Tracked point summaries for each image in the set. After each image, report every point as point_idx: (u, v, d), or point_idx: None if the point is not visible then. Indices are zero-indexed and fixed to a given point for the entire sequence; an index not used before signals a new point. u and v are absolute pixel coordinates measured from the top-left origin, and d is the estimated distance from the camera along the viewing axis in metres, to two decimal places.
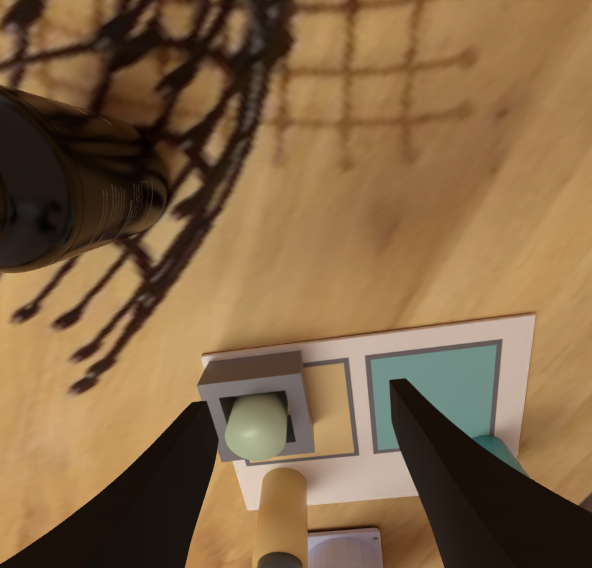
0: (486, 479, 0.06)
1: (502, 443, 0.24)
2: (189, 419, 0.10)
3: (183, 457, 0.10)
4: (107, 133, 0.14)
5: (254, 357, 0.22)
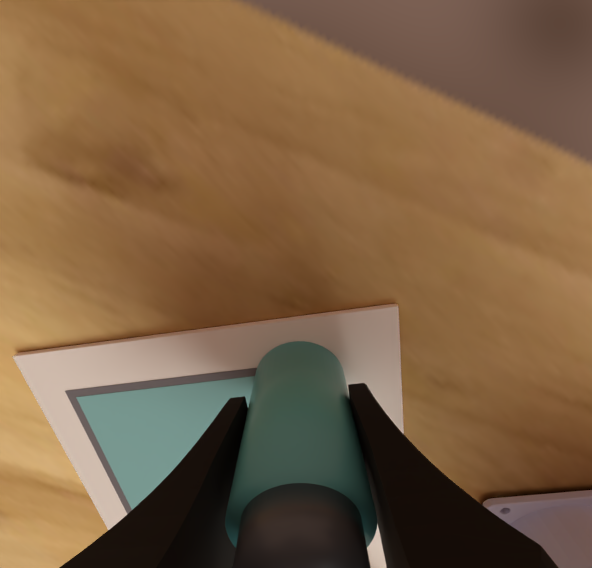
0: (414, 485, 0.07)
1: (259, 367, 0.13)
2: (232, 414, 0.10)
3: (229, 452, 0.10)
4: None
5: None
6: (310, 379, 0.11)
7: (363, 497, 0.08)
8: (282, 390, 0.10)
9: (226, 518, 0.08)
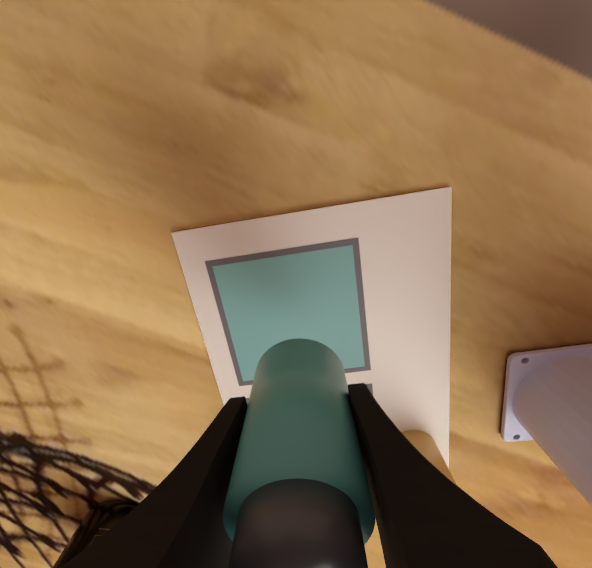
0: (413, 486, 0.07)
1: (260, 363, 0.13)
2: (232, 414, 0.10)
3: (230, 452, 0.10)
4: (58, 562, 0.24)
5: None
6: (311, 377, 0.11)
7: (362, 495, 0.08)
8: (282, 386, 0.10)
9: (224, 511, 0.08)
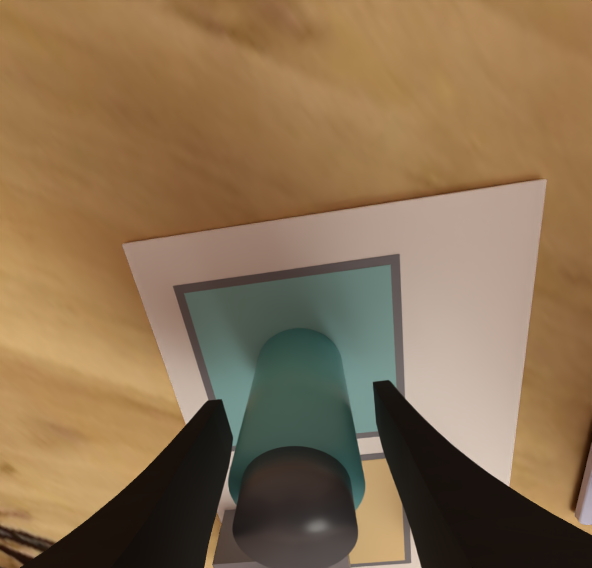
0: (457, 482, 0.07)
1: (262, 351, 0.14)
2: (206, 417, 0.10)
3: (201, 455, 0.10)
4: None
5: None
6: (309, 361, 0.11)
7: (353, 461, 0.08)
8: (283, 369, 0.11)
9: (229, 477, 0.09)
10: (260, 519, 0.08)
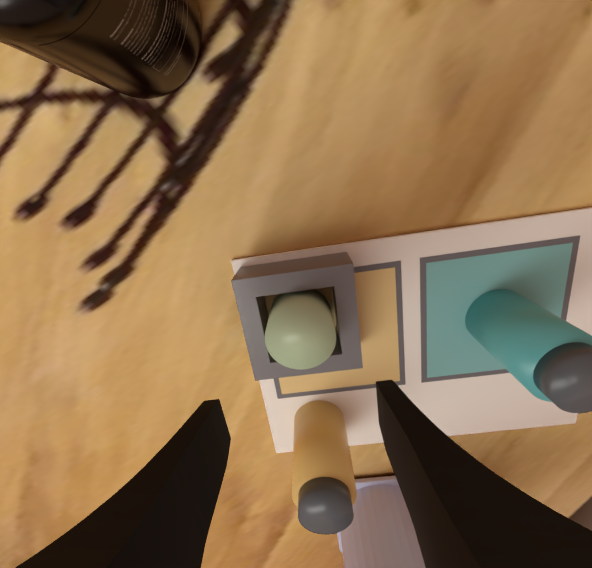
0: (462, 481, 0.07)
1: (522, 296, 0.20)
2: (203, 418, 0.10)
3: (198, 456, 0.10)
4: None
5: (293, 259, 0.19)
6: None
7: None
8: None
9: (585, 335, 0.14)
10: None
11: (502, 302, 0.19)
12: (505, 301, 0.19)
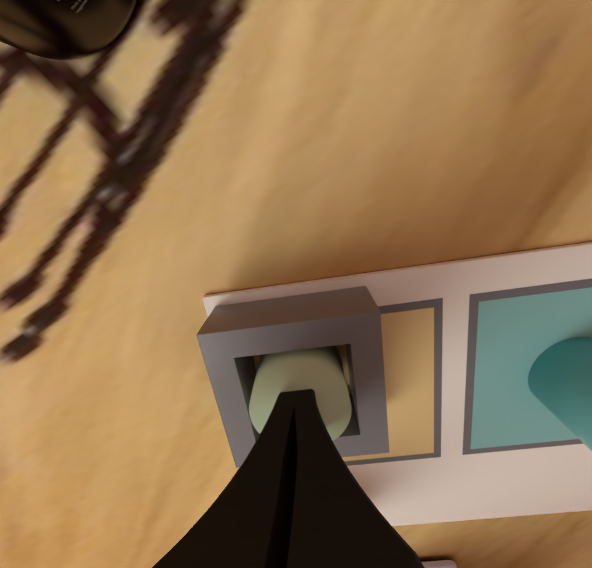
0: (323, 494, 0.07)
1: None
2: (289, 408, 0.10)
3: (291, 446, 0.09)
4: None
5: (290, 297, 0.14)
6: None
7: None
8: None
9: None
10: None
11: None
12: None
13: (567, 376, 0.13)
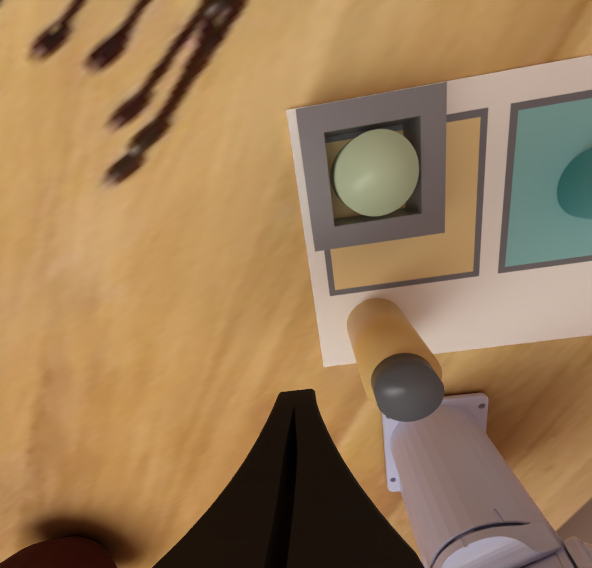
0: (323, 494, 0.07)
1: None
2: (289, 408, 0.10)
3: (291, 446, 0.09)
4: None
5: None
6: None
7: None
8: None
9: None
10: None
11: None
12: None
13: None
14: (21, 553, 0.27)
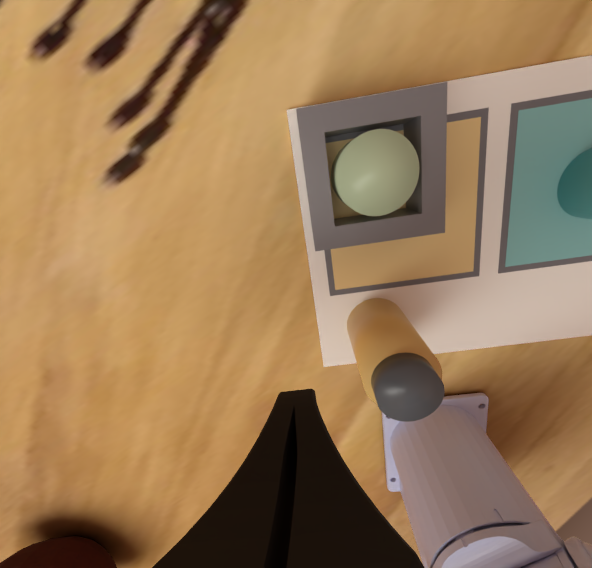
0: (323, 494, 0.07)
1: None
2: (289, 408, 0.10)
3: (291, 446, 0.09)
4: None
5: None
6: None
7: None
8: None
9: None
10: None
11: None
12: None
13: None
14: (21, 553, 0.27)
